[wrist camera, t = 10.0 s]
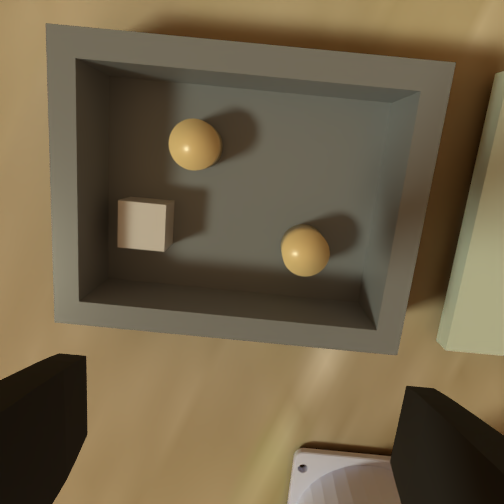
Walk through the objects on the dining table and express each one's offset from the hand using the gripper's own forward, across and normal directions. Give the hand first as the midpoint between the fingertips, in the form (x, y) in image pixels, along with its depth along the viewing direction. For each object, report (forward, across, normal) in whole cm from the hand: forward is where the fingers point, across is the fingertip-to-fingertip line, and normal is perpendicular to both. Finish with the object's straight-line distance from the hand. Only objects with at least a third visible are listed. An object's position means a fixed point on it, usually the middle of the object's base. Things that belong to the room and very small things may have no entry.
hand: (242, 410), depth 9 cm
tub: (+10, +1, -4) cm, 11 cm away
